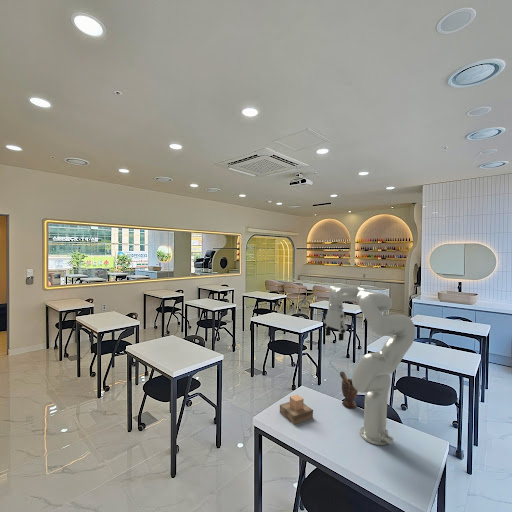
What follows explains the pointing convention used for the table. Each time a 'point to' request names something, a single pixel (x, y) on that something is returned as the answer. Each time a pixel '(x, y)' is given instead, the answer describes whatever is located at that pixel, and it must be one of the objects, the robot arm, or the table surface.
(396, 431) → the table surface
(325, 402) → the table surface
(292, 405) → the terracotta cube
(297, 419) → the walnut base
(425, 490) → the table surface
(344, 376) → the mortar and pestle
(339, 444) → the table surface
